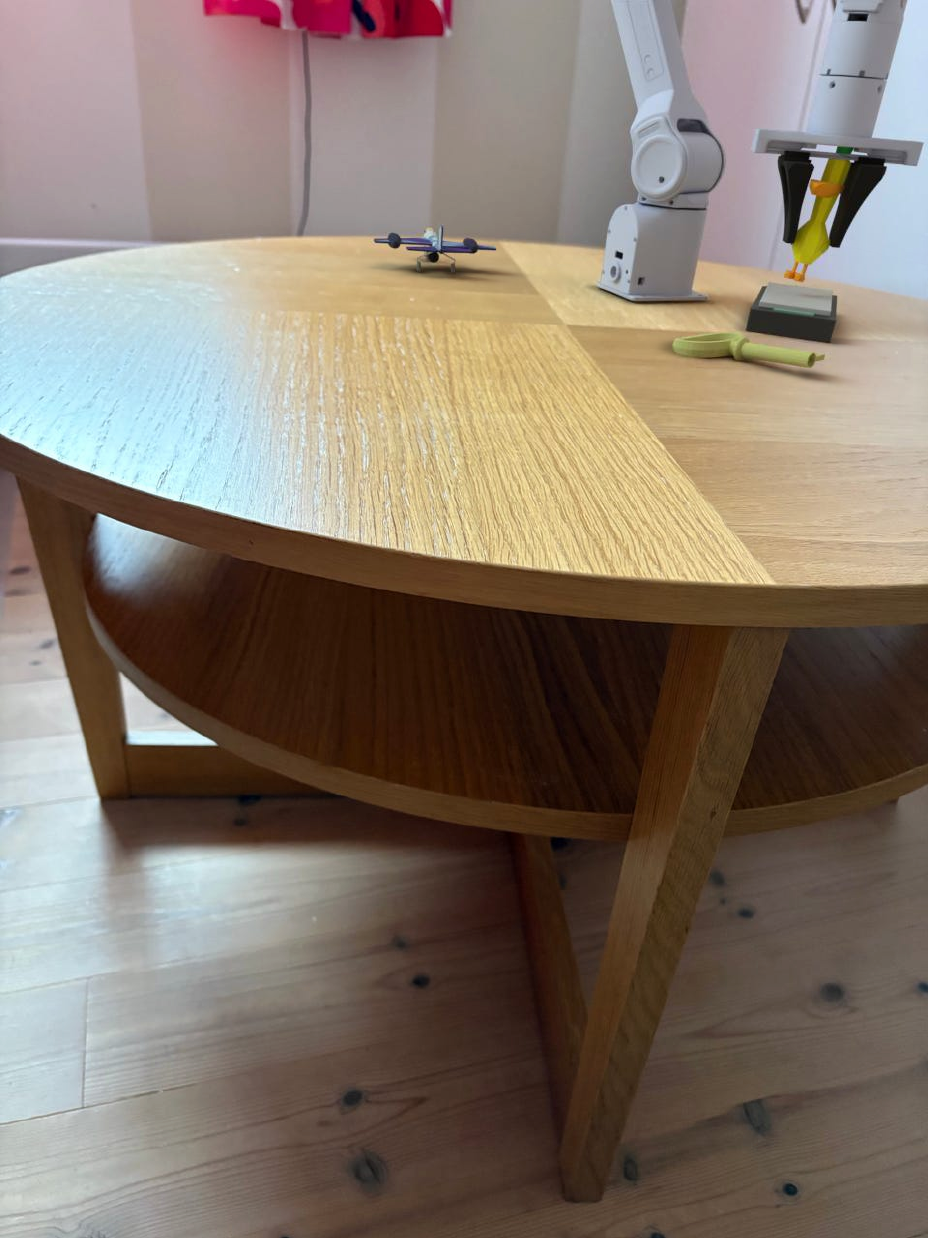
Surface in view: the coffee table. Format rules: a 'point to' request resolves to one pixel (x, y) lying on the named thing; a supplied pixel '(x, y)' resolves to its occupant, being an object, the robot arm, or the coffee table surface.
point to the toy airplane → (434, 246)
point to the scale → (794, 312)
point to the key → (741, 349)
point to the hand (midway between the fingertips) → (811, 244)
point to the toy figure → (819, 214)
